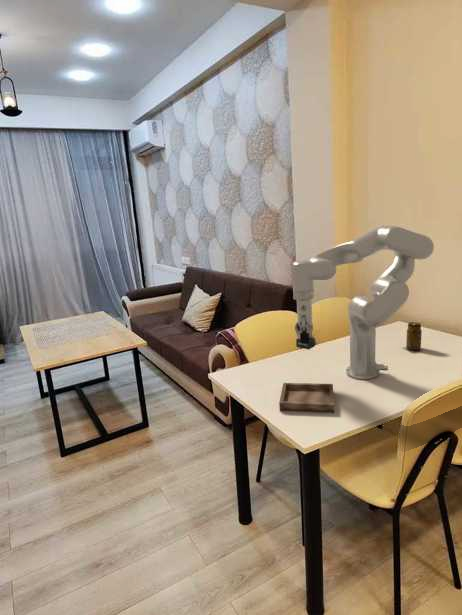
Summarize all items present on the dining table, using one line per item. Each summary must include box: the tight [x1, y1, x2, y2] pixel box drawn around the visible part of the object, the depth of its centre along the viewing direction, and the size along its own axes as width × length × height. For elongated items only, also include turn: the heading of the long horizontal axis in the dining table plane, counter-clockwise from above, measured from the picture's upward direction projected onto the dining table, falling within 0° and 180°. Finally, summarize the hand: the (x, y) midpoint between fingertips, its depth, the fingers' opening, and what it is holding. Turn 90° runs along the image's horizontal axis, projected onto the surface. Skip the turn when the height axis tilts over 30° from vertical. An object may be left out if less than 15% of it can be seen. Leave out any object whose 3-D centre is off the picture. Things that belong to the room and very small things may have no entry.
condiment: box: [401, 321, 428, 354], centre depth 183 cm, size 7×8×12 cm
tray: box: [278, 382, 335, 414], centre depth 144 cm, size 18×16×3 cm
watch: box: [294, 318, 316, 350], centre depth 155 cm, size 6×8×11 cm
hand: (305, 338), depth 156 cm, fingers closed on watch, 8 cm apart
